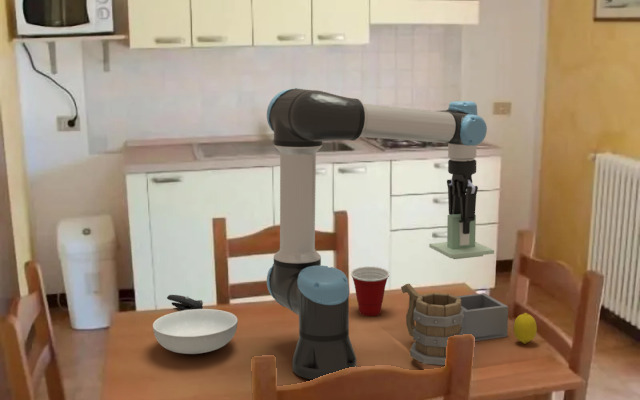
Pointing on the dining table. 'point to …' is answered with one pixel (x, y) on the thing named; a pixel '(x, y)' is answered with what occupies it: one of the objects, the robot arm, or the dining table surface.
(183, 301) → the black stapler
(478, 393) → the dining table surface
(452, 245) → the lid
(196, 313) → the serving bowl
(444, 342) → the tankard
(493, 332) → the parts tub
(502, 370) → the dining table surface
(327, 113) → the robot arm
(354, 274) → the plastic cup
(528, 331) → the lemon
